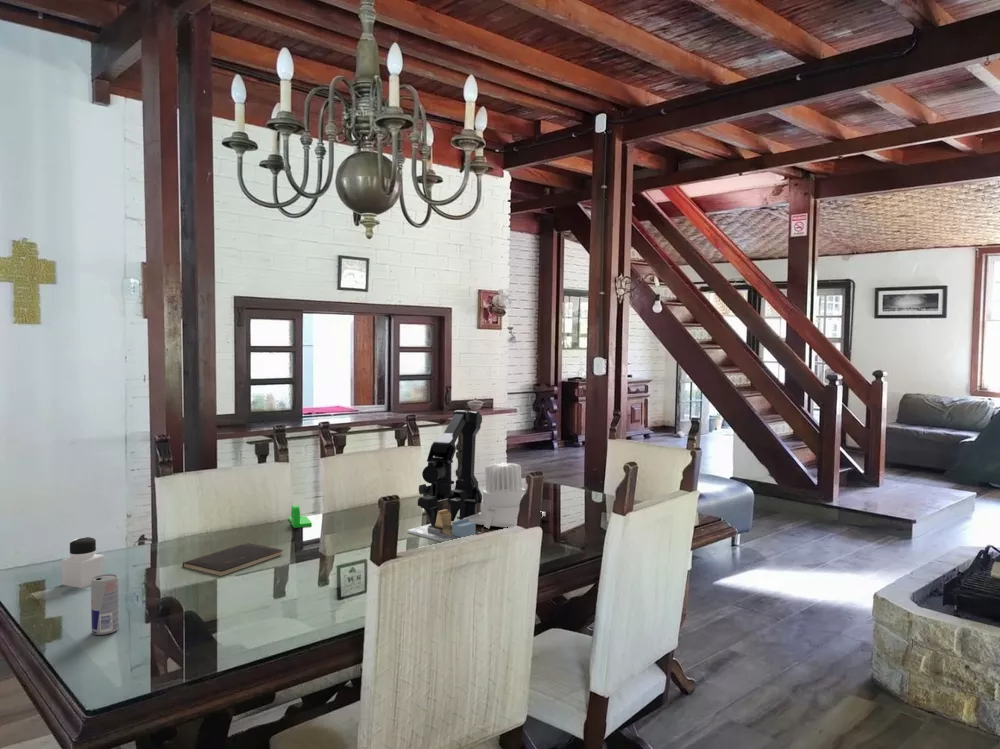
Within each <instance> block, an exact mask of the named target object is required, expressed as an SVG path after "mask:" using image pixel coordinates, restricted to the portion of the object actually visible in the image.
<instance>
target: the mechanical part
mask: <svg viewBox="0 0 1000 749" xmlns="http://www.w3.org/2000/svg"><path fill="white" fill-rule="evenodd" d="M290 512H291V513H290V514H291V516H288V521H289V523H290V522H291V523H290V524H291V525H292V527H293V529H296V528H308V527H309V528H310V527H312V525H313V524H312V523H313V522H311V520H310V519H309V517H308V516H305V515H301V513H300V512H301V511H300V506H299V505H298V504H295V505H291V511H290Z"/></svg>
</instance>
